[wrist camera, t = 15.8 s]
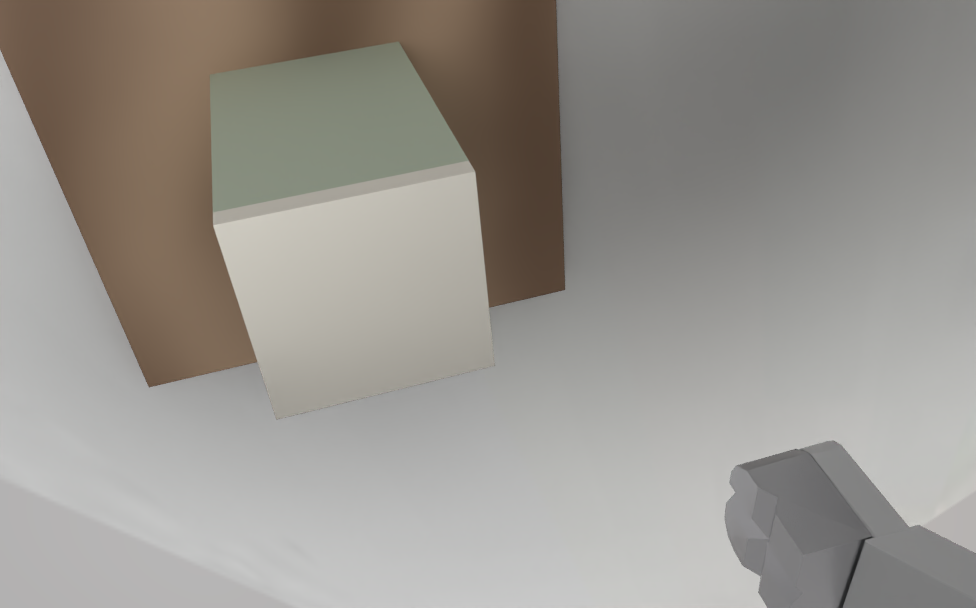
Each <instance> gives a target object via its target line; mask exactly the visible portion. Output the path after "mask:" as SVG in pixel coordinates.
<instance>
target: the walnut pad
mask: <svg viewBox="0 0 976 608" xmlns="http://www.w3.org/2000/svg"><path fill="white" fill-rule="evenodd" d="M393 42H399V43H400V44H401V46H402V48H403V50H404V51H405V53H406V55H407V56H408V58H409V60H410V61H411V63H412V65H413V67H414V68H415V70H416V72H417V73H418V75H419V77H420V78H421V80H422V82H423V84H424V85H425V87H426V89H427V90H428V92H429V94H430V96H431V97H432V99H433V101H434V102H435V104H436V106H437V107H438V109H439V111H440V113H441V114H442V116H443V118H444V119H445V121H446V123H447V124H448V126H449V128H450V130H451V131H452V133H453V135H454V136H455V138H456V140H457V141H458V143H459V145H460V147H461V148H462V150H463V152H464V153H465V155H466V157H467V158H468V160H469V162H470V164H471V165H472V167H473V169H474V170H475V174H476V184H477V194H478V204H479V214H480V224H481V234H482V244H483V254H484V264H485V274H486V284H487V293H488V303H489V307H494V306H498V305H502V304H507V303H511V302H515V301H519V300H524V299H528V298H532V297H536V296H541V295H545V294H549V293H553V292H558V291H562V290H565V273H564V241H563V209H562V177H561V145H560V113H559V81H558V49H557V17H556V0H0V50H1V52H2V54H3V57H4V59H5V61H6V64H7V66H8V68H9V70H10V73H11V75H12V77H13V79H14V82H15V84H16V86H17V89H18V91H19V93H20V95H21V98H22V100H23V102H24V104H25V107H26V109H27V111H28V113H29V116H30V118H31V120H32V123H33V125H34V127H35V129H36V132H37V134H38V136H39V138H40V141H41V143H42V145H43V148H44V150H45V152H46V154H47V157H48V159H49V161H50V163H51V166H52V168H53V170H54V173H55V175H56V177H57V179H58V182H59V184H60V186H61V188H62V191H63V193H64V195H65V198H66V200H67V202H68V204H69V207H70V209H71V211H72V213H73V216H74V218H75V220H76V223H77V225H78V227H79V229H80V232H81V234H82V236H83V238H84V241H85V243H86V245H87V248H88V250H89V252H90V254H91V257H92V259H93V261H94V263H95V266H96V268H97V270H98V273H99V275H100V277H101V279H102V282H103V284H104V286H105V288H106V291H107V293H108V295H109V298H110V300H111V302H112V304H113V307H114V309H115V311H116V313H117V316H118V318H119V320H120V323H121V325H122V327H123V329H124V332H125V334H126V336H127V338H128V341H129V343H130V345H131V348H132V350H133V352H134V354H135V357H136V359H137V361H138V363H139V366H140V368H141V370H142V372H143V375H144V377H145V379H146V382H147V384H148V386H149V387H152V386H157V385H161V384H165V383H169V382H174V381H178V380H182V379H187V378H191V377H195V376H199V375H204V374H208V373H212V372H216V371H221V370H225V369H229V368H233V367H238V366H242V365H246V364H251V363H255V362H257V359H256V356H255V353H254V349H253V346H252V343H251V340H250V337H249V334H248V331H247V328H246V325H245V322H244V319H243V316H242V313H241V310H240V307H239V303H238V300H237V297H236V294H235V291H234V288H233V285H232V282H231V279H230V276H229V273H228V270H227V267H226V264H225V261H224V257H223V254H222V251H221V248H220V245H219V242H218V239H217V236H216V233H215V230H214V227H213V201H212V155H211V110H210V74H216V73H222V72H227V71H233V70H239V69H245V68H250V67H256V66H262V65H267V64H273V63H279V62H285V61H290V60H296V59H302V58H307V57H313V56H319V55H325V54H330V53H336V52H342V51H347V50H353V49H359V48H365V47H370V46H376V45H382V44H387V43H393Z"/></svg>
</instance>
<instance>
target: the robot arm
mask: <svg viewBox="0 0 976 608" xmlns="http://www.w3.org/2000/svg"><path fill="white" fill-rule="evenodd" d="M729 483H730V485H731V486H732V488H733V489H734V491H735V494H734V495H733V496H732V497H731V498H730V499H729V500H728V502H727V503H726V509H725V523H726V528H727V533H728V537H729V540H730V542H731V545H732V547H733V549H734V552H735V553H736V555H737V557H738V558H739V560H740V562H741V564H742V565H743V566H744V567H746V568H747V569H749V570H751V571H753V572H754V573H756V574H758V575H759V576H760V584H759V591H758V593H759V594H760V596H761V598H762V599H763V601H764V603H765V604H766V606H767V608H976V553H974V552H972V551H970V550H968V549H966V548H964V547H962V546H960V545H958V544H956V543H954V542H952V541H950V540H948V539H946V538H944V537H941V536H940V535H938V534H936V533H934V532H932V531H930V530H928V529H926V528H924V527H922V526H920V525H916V526H912V527H909V526H908V525H907V524H906V523H905V521H904V520H903V519H902V518H901V517H900V515H899V514H898V513H897V512H896V511H895V509H894V508H893V507H892V506H891V505H890V503H889V502H888V501H887V500H886V498H885V497H884V496H883V495H882V494H881V492H880V491H879V490H878V489H877V488H876V486H875V485H874V484H873V483H872V482H871V480H870V479H869V478H868V477H867V476H866V474H865V473H864V472H863V471H862V469H861V468H860V467H859V466H858V465H857V463H856V462H855V461H854V460H853V459H852V457H851V456H850V455H849V454H848V453H847V451H846V450H845V449H844V448H843V446H842V445H840V444H839V443H837V442H835V441H826V442H823V443H819V444H816V445H812V446H809V447H805V448H802V449H794V450H790V451H786V452H783V453H779V454H776V455H772V456H769V457H765V458H762V459H758V460H754V461H751V462H747V463H744V464H740V465H737V466H736V467H735V468H734V469H733V470H732V471H731V477H730V482H729Z"/></svg>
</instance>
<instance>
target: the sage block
mask: <svg viewBox="0 0 976 608" xmlns="http://www.w3.org/2000/svg"><path fill="white" fill-rule="evenodd" d="M210 110H211V155H212V201H213V227H214V230H215V233H216V236H217V239H218V242H219V245H220V248H221V251H222V254H223V257H224V261H225V264H226V267H227V270H228V273H229V276H230V279H231V282H232V285H233V288H234V291H235V294H236V297H237V300H238V303H239V307H240V310H241V313H242V316H243V319H244V322H245V325H246V328H247V331H248V334H249V337H250V340H251V343H252V346H253V349H254V353H255V356H256V359H257V362H258V365H259V368H260V371H261V374H262V377H263V380H264V383H265V386H266V389H267V392H268V395H269V398H270V402H271V405H272V408H273V411H274V414H275V417H276V420H278V419H282V418H286V417H290V416H294V415H298V414H302V413H306V412H310V411H314V410H318V409H322V408H326V407H330V406H334V405H338V404H342V403H346V402H350V401H354V400H358V399H363V398H367V397H371V396H375V395H379V394H383V393H387V392H391V391H395V390H399V389H403V388H407V387H411V386H415V385H419V384H423V383H427V382H431V381H435V380H439V379H444V378H448V377H452V376H456V375H460V374H464V373H468V372H472V371H476V370H480V369H484V368H488V367H492V366H495V363H494V353H493V343H492V333H491V323H490V313H489V303H488V293H487V284H486V274H485V264H484V254H483V244H482V234H481V224H480V214H479V204H478V194H477V184H476V174H475V170H474V169H473V167H472V165H471V164H470V162H469V160H468V158H467V157H466V155H465V153H464V152H463V150H462V148H461V147H460V145H459V143H458V141H457V140H456V138H455V136H454V135H453V133H452V131H451V130H450V128H449V126H448V124H447V123H446V121H445V119H444V118H443V116H442V114H441V113H440V111H439V109H438V107H437V106H436V104H435V102H434V101H433V99H432V97H431V96H430V94H429V92H428V90H427V89H426V87H425V85H424V84H423V82H422V80H421V78H420V77H419V75H418V73H417V72H416V70H415V68H414V67H413V65H412V63H411V61H410V60H409V58H408V56H407V55H406V53H405V51H404V50H403V48H402V46H401V44H400V43H399V42H393V43H387V44H382V45H376V46H370V47H365V48H359V49H353V50H347V51H342V52H336V53H330V54H325V55H319V56H313V57H307V58H302V59H296V60H290V61H285V62H279V63H273V64H267V65H262V66H256V67H250V68H245V69H239V70H233V71H227V72H222V73H216V74H210Z"/></svg>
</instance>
